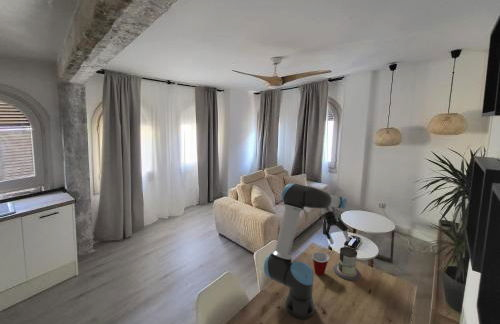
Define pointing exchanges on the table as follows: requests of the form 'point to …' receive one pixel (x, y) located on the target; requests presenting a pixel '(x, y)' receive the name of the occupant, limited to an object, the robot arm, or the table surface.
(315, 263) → the plastic cup
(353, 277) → the round plate
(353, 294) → the table surface
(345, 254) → the coffee can
